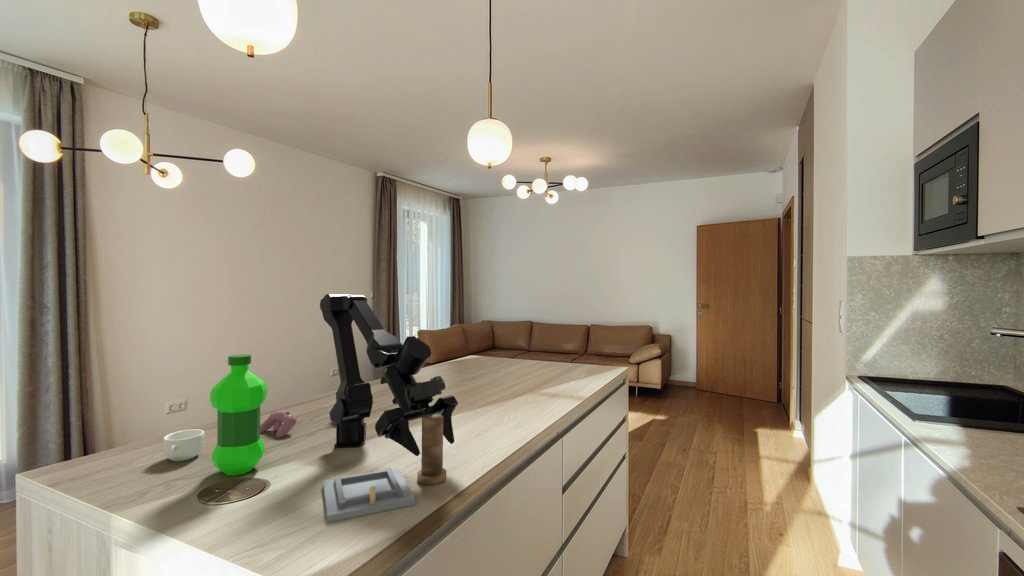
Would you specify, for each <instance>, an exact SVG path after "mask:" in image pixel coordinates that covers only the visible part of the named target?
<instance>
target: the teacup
mask: <svg viewBox="0 0 1024 576" xmlns="http://www.w3.org/2000/svg"><path fill="white" fill-rule="evenodd" d="M162 443H163V444H162V445H163V452H164V456H165V457H167V459H168V460H170V461H172V462H183V461H189V460H191V459H193V458H195V457H196V456H198V455H199V454H200V453H201V452H202V450H203V448H204V446H205V445H204V443H205V430H203V429H195V428H194V429H183V430H178V431H175V432H172V433H167V435H165V436H164V437H163V440H162Z"/></svg>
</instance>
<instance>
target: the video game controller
mask: <svg viewBox="0 0 1024 576" xmlns="http://www.w3.org/2000/svg"><path fill="white" fill-rule="evenodd" d="M296 423H297V416H295V415H294V414H293V413H292V412H291V411H288V410H278V411H277V410H274V411H273V412H272V413H270V415H269V416H268V417H267V419H265V420H264V421H263V422H262V423H260V433H265V432H267V431H269V430H270V429H271V428H272V430H273V431H274V432H276V438H278V439H281V438H283V437H285V436H287V435H288V434H289V432H290V431H291V430H292V428H293V427H295V425H296ZM264 431H265V432H264ZM280 437H281V438H280Z"/></svg>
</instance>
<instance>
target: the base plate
mask: <svg viewBox="0 0 1024 576" xmlns="http://www.w3.org/2000/svg"><path fill="white" fill-rule="evenodd" d="M322 481H323V482H322V483H323V484H322V485H323V486H322V487H323V495H324V496H323V497H324V505H325V512H326V521H327V523H332V522H337V521H342V520H348V519H352V518H357V517H361V516H367V515H372V514H376V513H381V512H386V511H391V510H395V509H401V508H406V507H409V506H415V505H416V497H415V495H414V494H413V492H412V490H411V488H410V486H409V484H408V483H407V480H406V479H405V477H404V475H403V473H402V471H401V470H400V468H399V467H398V468H393V469H392V468H391V467H388V468H385V469H381V470H380V469H379V470H375V471H369V472H363V473H355V474H350V475H345V476H340V475H339V476H334V478H332V479H327V480H322Z"/></svg>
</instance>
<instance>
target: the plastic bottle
mask: <svg viewBox="0 0 1024 576" xmlns="http://www.w3.org/2000/svg"><path fill="white" fill-rule="evenodd" d="M251 363H252V355H251V354H250V353H249V354H247V353H245V354H243V353H242V354H234V355H229V356H227V365H228V366H230V372H229V373H228V374H227V375H226V376H224V377H223V378H222V379H221V380H220V381H219V382H217V383H216V384H215V385H214V386H213V387H212V389H211V391H210V394H209V395H210V397H209V399H210V403H211V404H210V405H211V406H212V407H213V408H214V409H215V410H216V411H217V422H216V423H217V429H216V431H217V436H216V437H217V439H216V440H217V443H216V446H215V447H214V449H213V452H212V454H211V462H212V463H213V466H214V467H215V468H216V469H218V470H220V471H221V472H223V474H225V475H227V476H239V475H243V474H246V473H248V472H250V471H252V470H253V468H254V467H256V466H257V465H258V463H259V462H260V461H261V459H262V458H263V456H264V455H265V452H266V451H265V450H266V446H265V443H264V441H263V438H261V432H260V426H261V405H262V404H263V403H264V402H265V400H267V395H268V386H267V384H266V383H265V381H264V380H263V379H261V378H260V377H258V376H257V375H255V374H254V373H253V372H251V371H250V370H249V365H251Z"/></svg>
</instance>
